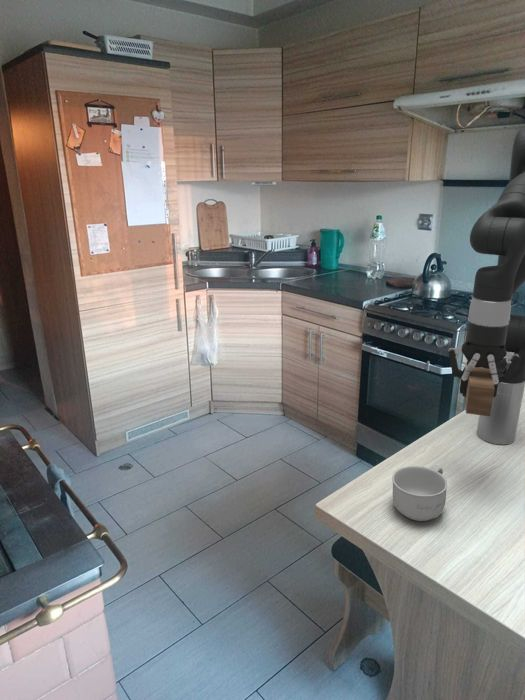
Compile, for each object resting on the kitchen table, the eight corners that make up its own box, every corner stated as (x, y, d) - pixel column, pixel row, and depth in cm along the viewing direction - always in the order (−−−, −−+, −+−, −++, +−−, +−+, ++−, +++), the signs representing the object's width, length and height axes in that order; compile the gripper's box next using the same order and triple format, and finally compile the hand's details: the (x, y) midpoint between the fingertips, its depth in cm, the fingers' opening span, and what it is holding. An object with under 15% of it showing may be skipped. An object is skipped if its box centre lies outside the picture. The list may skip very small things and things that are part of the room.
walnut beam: (464, 386, 112) (467, 361, 110) (485, 388, 111) (489, 363, 109) (465, 413, 100) (469, 386, 98) (490, 416, 98) (494, 389, 96)
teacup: (418, 536, 97) (422, 502, 94) (378, 506, 105) (381, 474, 102) (464, 510, 103) (469, 478, 101) (423, 484, 112) (427, 453, 109)
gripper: (525, 317, 100) (511, 394, 106) (450, 311, 105) (441, 385, 111) (530, 328, 94) (515, 409, 99) (450, 321, 98) (440, 399, 104)
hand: (476, 396), depth 105 cm, fingers closed on walnut beam, 4 cm apart
